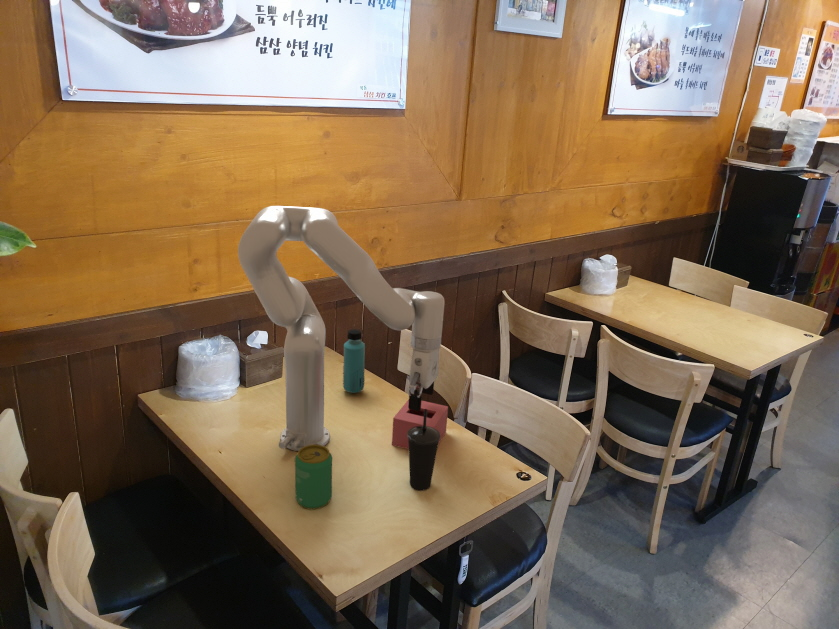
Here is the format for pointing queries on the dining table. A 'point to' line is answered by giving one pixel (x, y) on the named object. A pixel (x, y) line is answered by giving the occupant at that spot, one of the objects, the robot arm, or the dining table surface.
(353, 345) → the beverage bottle
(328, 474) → the beverage can
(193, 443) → the dining table surface
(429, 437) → the drinking cup
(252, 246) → the robot arm
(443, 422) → the red slotted block
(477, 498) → the dining table surface
